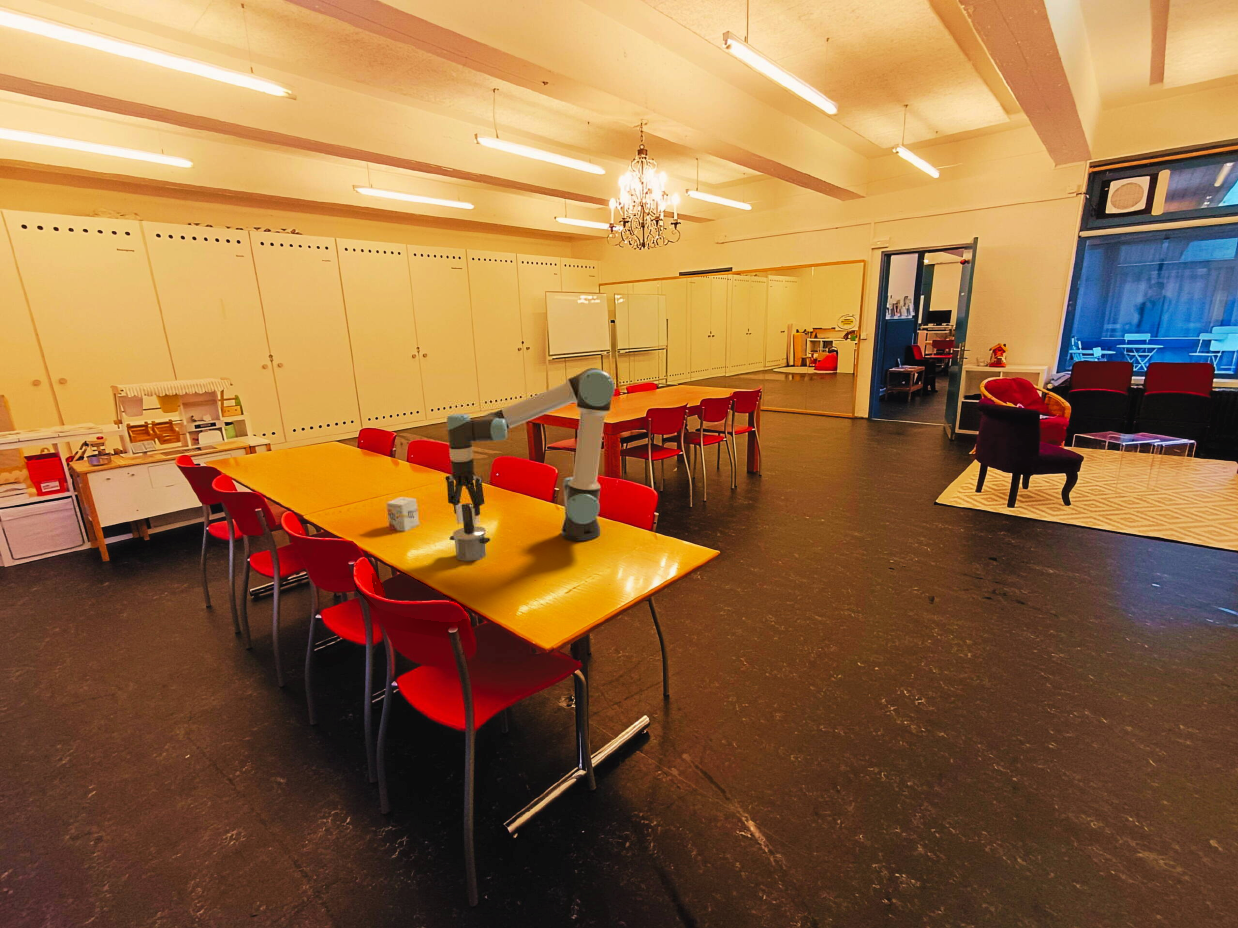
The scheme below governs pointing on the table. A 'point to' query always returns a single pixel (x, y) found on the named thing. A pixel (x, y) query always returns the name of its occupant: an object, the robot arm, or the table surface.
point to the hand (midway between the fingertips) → (468, 523)
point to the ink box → (402, 514)
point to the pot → (470, 549)
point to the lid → (468, 526)
